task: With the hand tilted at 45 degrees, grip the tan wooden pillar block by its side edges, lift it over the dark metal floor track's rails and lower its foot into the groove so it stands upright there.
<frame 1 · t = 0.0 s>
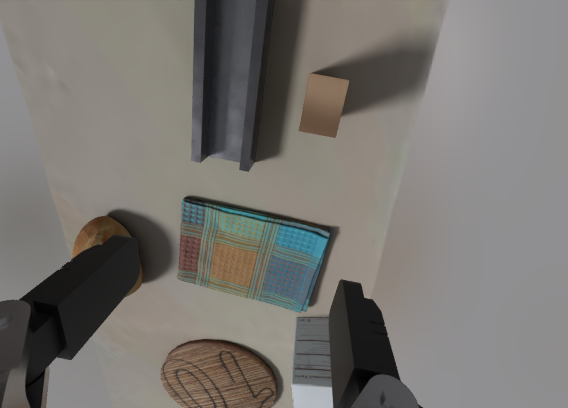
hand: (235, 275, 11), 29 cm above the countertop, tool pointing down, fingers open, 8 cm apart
dish towel: (251, 253, 47), on the countertop
supplement box: (316, 330, 53), on the countertop
floor track: (234, 81, 35), on the countertop
bread roll: (124, 249, 49), on the countertop
trivet: (220, 377, 62), on the countertop
tan wooden pillar block: (320, 97, 35), on the countertop
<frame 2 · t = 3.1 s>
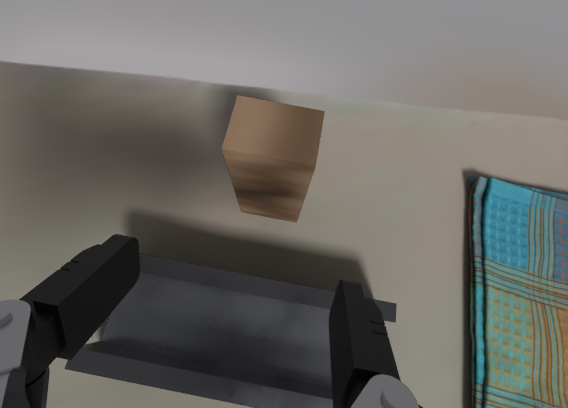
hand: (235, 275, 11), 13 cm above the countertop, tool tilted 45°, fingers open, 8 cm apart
dish towel: (559, 324, 24), on the countertop
floor track: (245, 328, 22), on the countertop
tan wooden pillar block: (272, 199, 26), on the countertop
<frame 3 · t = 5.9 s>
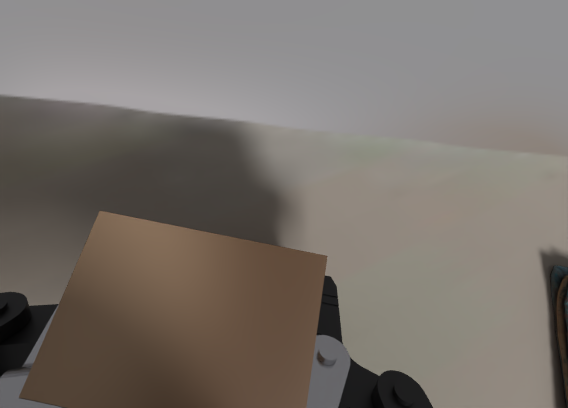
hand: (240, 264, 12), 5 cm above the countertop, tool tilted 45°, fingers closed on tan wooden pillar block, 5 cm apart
tan wooden pillar block: (241, 308, 16), on the countertop, touching gripper
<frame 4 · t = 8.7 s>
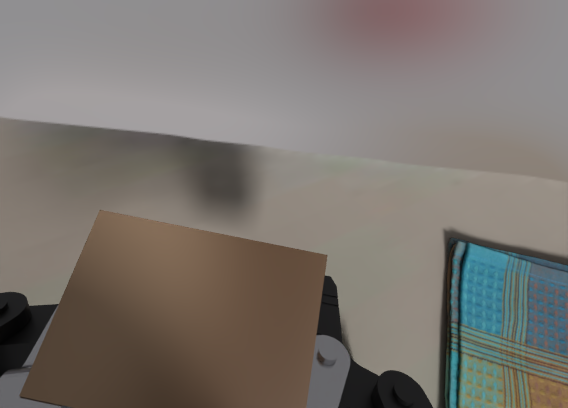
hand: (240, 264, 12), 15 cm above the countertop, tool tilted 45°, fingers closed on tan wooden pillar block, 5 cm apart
dish towel: (531, 387, 25), on the countertop
tan wooden pillar block: (241, 308, 16), point 10 cm above the countertop, touching gripper
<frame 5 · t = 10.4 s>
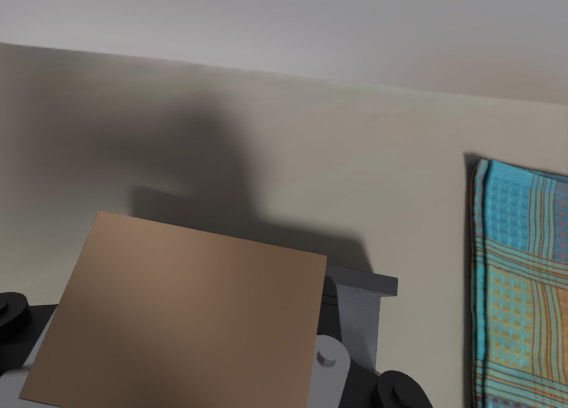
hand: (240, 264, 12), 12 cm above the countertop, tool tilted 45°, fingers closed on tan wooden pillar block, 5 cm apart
dish towel: (558, 304, 24), on the countertop
floor track: (248, 305, 22), on the countertop
tan wooden pillar block: (241, 308, 16), point 7 cm above the countertop, touching gripper
when the fingers open (7 cm above the countertop, at t = 11.9 s): tan wooden pillar block drops 1 cm, resting on floor track.
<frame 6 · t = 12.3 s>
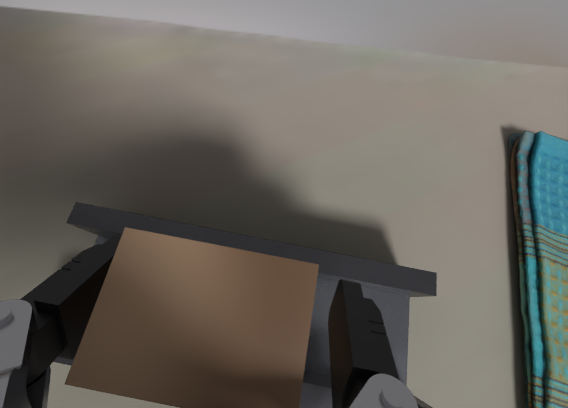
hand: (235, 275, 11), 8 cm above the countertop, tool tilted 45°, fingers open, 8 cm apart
floor track: (244, 307, 18), on the countertop
tan wooden pillar block: (243, 309, 17), point 1 cm above the countertop, touching floor track
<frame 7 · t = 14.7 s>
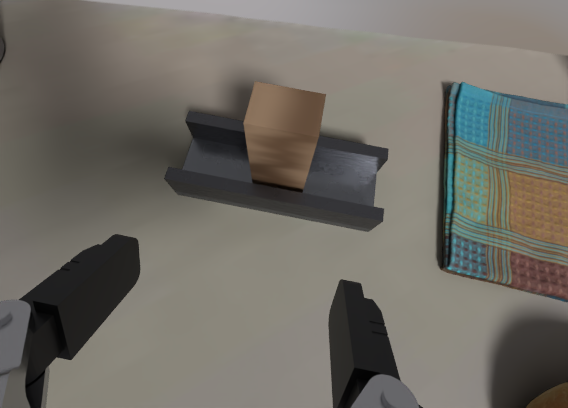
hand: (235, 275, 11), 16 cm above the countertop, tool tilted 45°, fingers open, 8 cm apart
dish towel: (511, 187, 32), on the countertop
floor track: (279, 180, 30), on the countertop
tan wooden pillar block: (280, 176, 29), point 1 cm above the countertop, touching floor track
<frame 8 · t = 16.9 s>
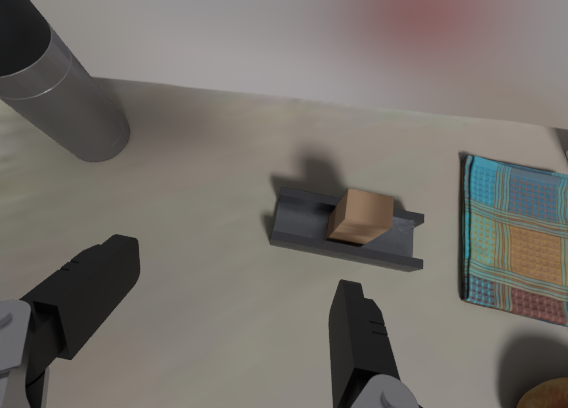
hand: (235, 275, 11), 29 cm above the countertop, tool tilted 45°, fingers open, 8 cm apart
dish towel: (511, 236, 43), on the countertop
floor track: (342, 233, 41), on the countertop
tan wooden pillar block: (344, 231, 41), point 1 cm above the countertop, touching floor track
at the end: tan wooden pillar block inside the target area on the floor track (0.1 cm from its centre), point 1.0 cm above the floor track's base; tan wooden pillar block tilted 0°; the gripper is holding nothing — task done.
